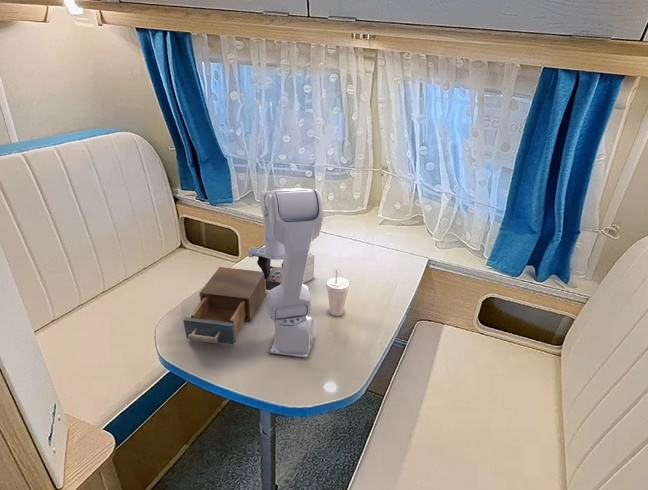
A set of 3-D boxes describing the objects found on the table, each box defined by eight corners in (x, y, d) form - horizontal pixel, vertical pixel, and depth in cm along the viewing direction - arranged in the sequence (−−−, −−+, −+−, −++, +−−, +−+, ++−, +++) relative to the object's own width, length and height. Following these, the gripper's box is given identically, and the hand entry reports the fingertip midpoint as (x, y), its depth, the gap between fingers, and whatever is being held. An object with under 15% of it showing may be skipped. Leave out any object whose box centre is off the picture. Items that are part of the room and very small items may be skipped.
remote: (287, 276, 121) (287, 267, 119) (280, 291, 114) (280, 281, 112) (273, 275, 121) (273, 265, 119) (265, 289, 114) (265, 280, 113)
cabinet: (250, 321, 117) (248, 298, 113) (202, 316, 118) (199, 292, 114) (265, 293, 129) (264, 271, 125) (222, 288, 130) (219, 266, 126)
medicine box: (304, 274, 140) (304, 250, 136) (314, 278, 138) (314, 254, 133) (286, 283, 135) (286, 258, 130) (297, 288, 133) (297, 263, 128)
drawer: (228, 355, 103) (226, 336, 100) (179, 349, 104) (175, 330, 101) (250, 314, 118) (249, 296, 115) (207, 308, 119) (205, 291, 116)
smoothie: (321, 308, 124) (323, 265, 116) (342, 303, 126) (344, 261, 118) (330, 320, 119) (332, 276, 111) (351, 315, 121) (354, 272, 114)
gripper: (306, 232, 113) (305, 277, 120) (252, 227, 114) (255, 271, 121) (300, 244, 107) (300, 290, 114) (244, 238, 108) (247, 284, 115)
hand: (277, 281), depth 117 cm, fingers closed on remote, 4 cm apart
